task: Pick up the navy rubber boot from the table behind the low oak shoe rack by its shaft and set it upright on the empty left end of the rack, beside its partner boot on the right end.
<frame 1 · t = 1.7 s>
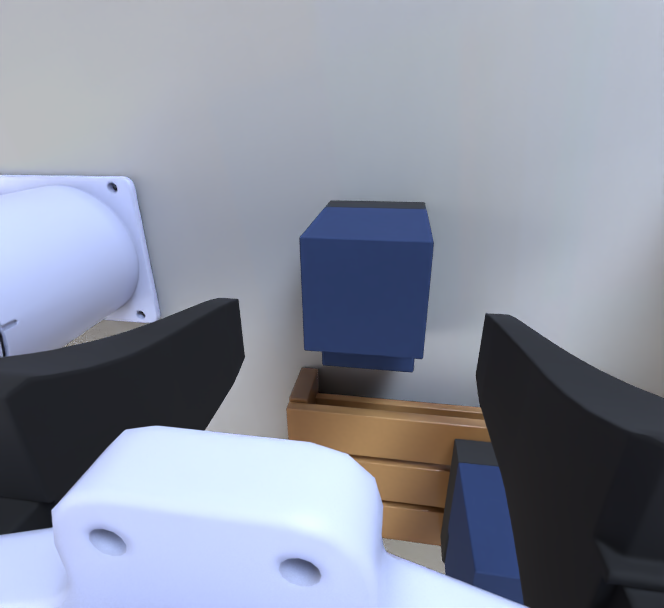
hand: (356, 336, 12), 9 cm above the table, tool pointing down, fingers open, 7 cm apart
shoe rack: (419, 440, 25), on the table
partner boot: (491, 495, 21), point 3 cm above the table, touching shoe rack
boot: (374, 271, 21), on the table
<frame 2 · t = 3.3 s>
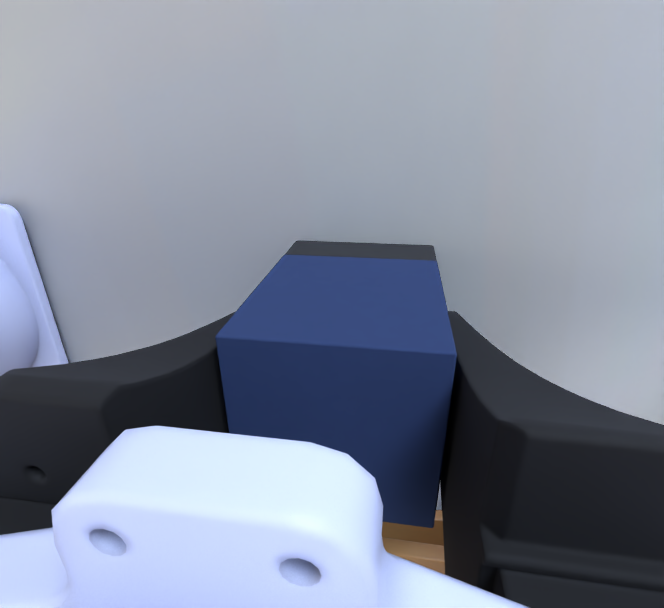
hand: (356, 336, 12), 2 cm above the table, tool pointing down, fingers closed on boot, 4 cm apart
shoe rack: (424, 547, 19), on the table
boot: (361, 338, 15), on the table, touching gripper
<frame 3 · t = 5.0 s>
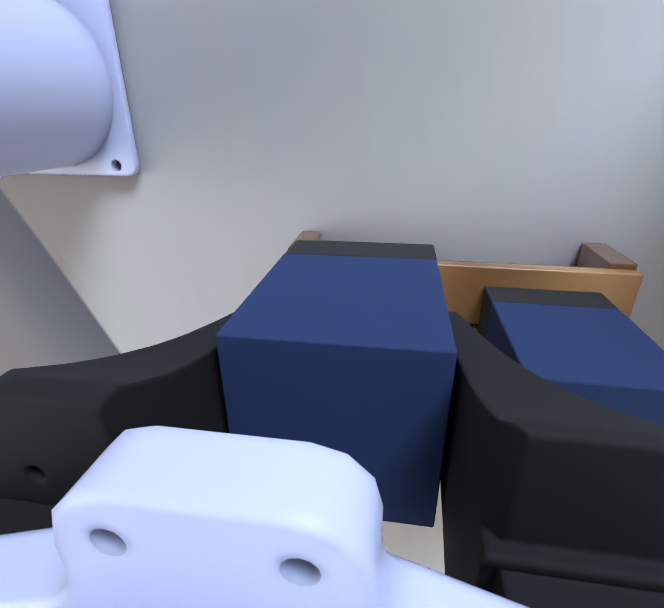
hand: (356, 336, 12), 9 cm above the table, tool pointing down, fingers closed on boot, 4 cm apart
shoe rack: (436, 321, 22), on the table
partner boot: (524, 363, 18), point 3 cm above the table, touching shoe rack
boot: (361, 337, 15), point 7 cm above the table, touching gripper
when the fingers open (6 cm above the table, at t = 6.8 s): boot stays where it is, resting on shoe rack.
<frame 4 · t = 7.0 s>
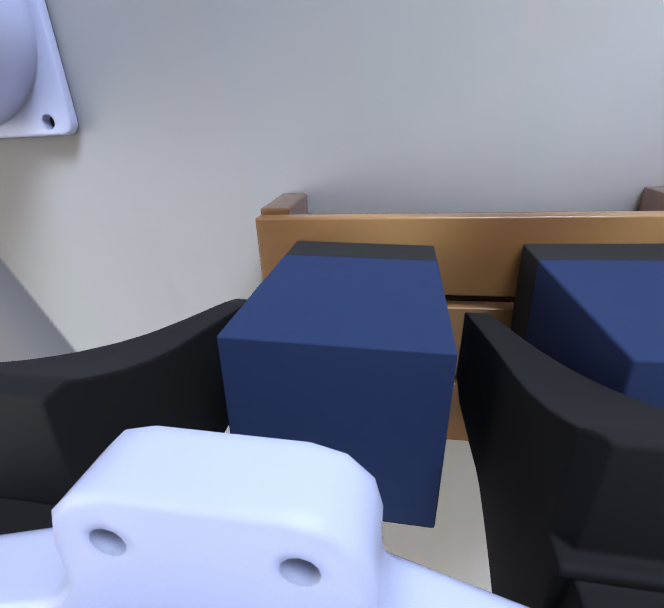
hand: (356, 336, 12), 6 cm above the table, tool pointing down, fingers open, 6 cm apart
shoe rack: (455, 300, 17), on the table
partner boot: (578, 347, 14), point 4 cm above the table, touching gripper, shoe rack
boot: (361, 338, 15), point 3 cm above the table, touching shoe rack
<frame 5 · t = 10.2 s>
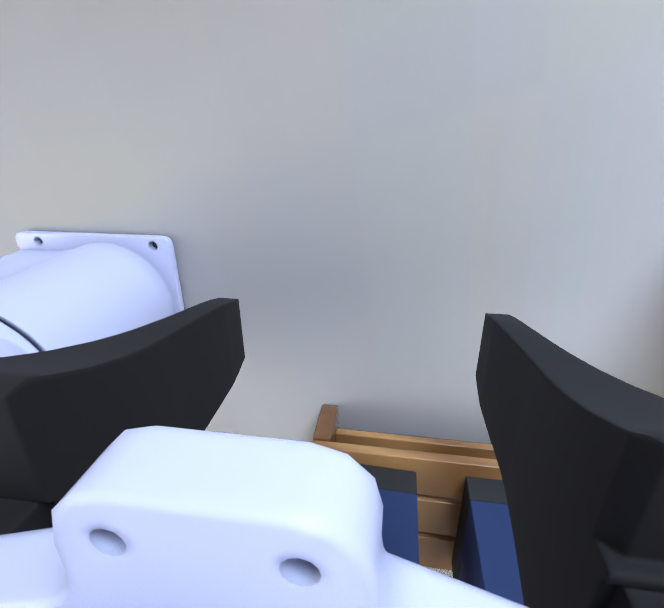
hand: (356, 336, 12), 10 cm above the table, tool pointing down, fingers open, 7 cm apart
shoe rack: (430, 470, 27), on the table
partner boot: (499, 526, 23), point 3 cm above the table, touching shoe rack
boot: (371, 510, 24), point 3 cm above the table, touching shoe rack
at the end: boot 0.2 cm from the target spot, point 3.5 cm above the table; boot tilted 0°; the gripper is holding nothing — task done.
